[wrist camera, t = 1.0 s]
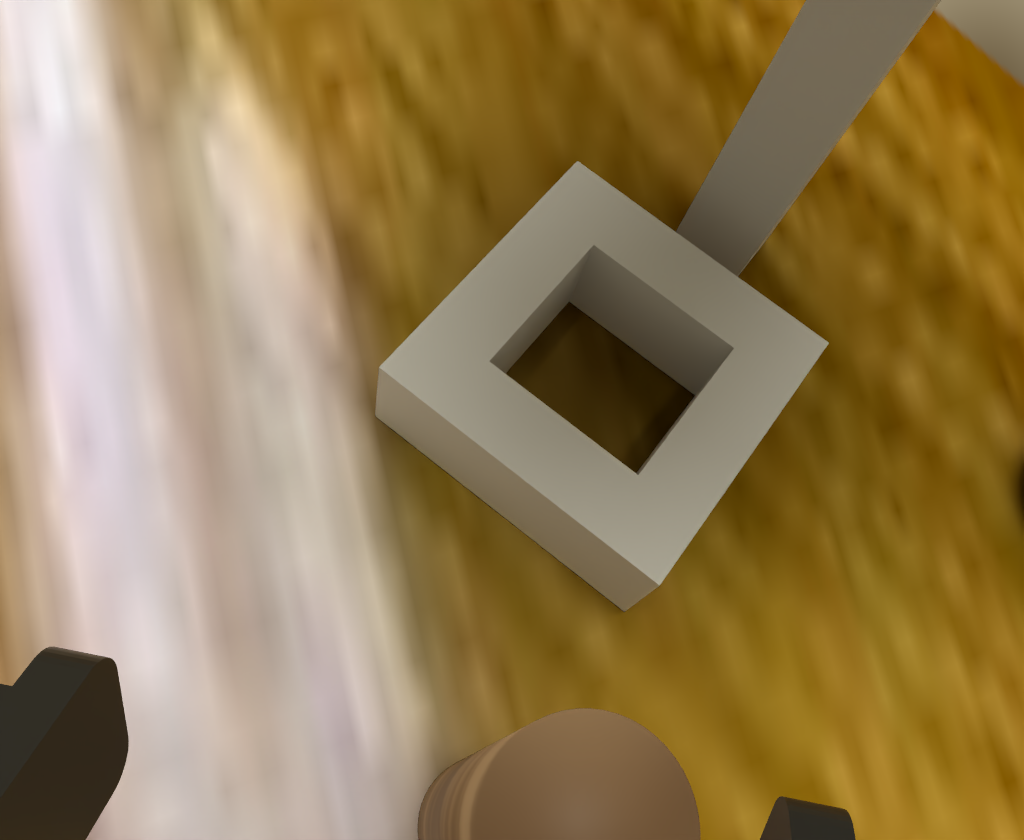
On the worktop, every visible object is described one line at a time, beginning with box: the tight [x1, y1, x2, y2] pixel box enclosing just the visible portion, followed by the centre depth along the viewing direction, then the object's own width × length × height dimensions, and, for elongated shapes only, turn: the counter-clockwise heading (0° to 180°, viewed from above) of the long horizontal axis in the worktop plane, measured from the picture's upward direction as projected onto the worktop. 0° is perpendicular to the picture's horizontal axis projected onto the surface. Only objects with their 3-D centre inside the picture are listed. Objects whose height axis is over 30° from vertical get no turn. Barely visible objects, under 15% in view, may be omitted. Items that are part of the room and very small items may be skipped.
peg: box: [418, 708, 700, 840], centre depth 23 cm, size 4×4×14 cm
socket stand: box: [375, 0, 941, 612], centre depth 23 cm, size 18×14×32 cm
